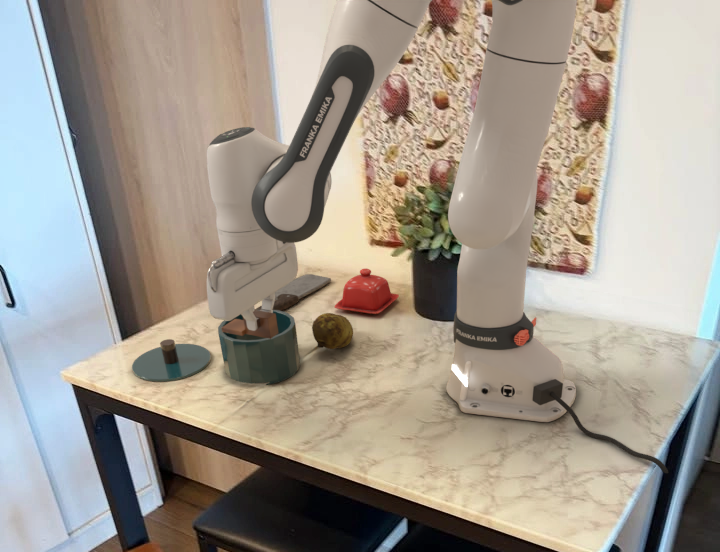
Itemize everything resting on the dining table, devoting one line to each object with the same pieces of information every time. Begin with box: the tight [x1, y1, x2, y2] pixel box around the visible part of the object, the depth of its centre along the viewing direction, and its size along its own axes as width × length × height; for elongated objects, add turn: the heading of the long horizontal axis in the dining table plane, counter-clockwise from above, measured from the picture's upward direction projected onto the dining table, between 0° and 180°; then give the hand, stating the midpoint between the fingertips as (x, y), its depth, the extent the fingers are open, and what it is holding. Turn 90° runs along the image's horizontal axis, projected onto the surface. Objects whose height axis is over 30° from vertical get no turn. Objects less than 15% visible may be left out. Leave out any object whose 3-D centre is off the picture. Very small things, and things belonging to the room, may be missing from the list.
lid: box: [131, 338, 212, 383], centre depth 148 cm, size 15×15×5 cm
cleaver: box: [254, 273, 332, 311], centre depth 173 cm, size 30×10×2 cm, turn 147°
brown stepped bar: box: [221, 310, 278, 339], centre depth 127 cm, size 10×4×4 cm, turn 60°
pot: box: [217, 310, 301, 386], centre depth 144 cm, size 14×15×9 cm
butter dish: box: [334, 268, 400, 315], centre depth 165 cm, size 12×12×8 cm
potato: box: [311, 312, 354, 350], centre depth 150 cm, size 8×13×8 cm, turn 149°
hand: (260, 324), depth 126 cm, fingers closed on brown stepped bar, 2 cm apart
